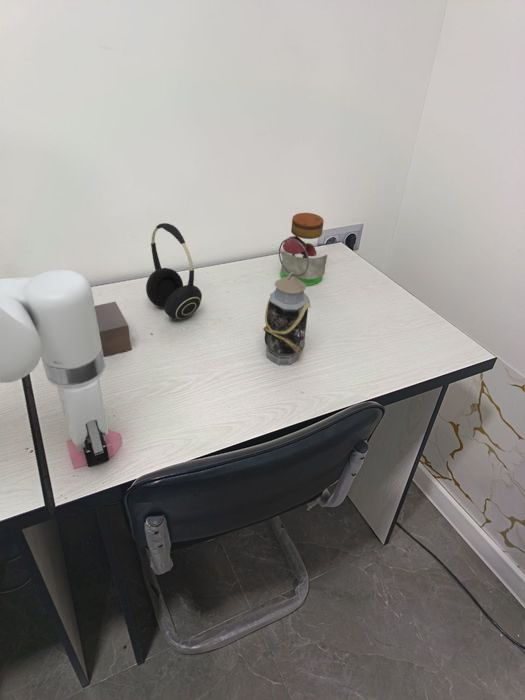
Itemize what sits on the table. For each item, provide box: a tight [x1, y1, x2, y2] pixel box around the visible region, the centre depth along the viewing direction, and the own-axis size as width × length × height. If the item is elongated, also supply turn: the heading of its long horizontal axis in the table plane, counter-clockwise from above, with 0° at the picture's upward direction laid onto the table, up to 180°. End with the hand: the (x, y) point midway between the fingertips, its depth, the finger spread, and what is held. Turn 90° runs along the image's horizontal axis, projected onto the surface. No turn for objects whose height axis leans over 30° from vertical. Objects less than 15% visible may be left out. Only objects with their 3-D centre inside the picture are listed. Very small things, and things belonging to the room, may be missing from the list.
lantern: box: [263, 237, 311, 366], centre depth 91 cm, size 9×8×25 cm
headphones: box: [145, 222, 203, 320], centre depth 102 cm, size 9×15×20 cm, turn 41°
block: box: [94, 301, 132, 358], centre depth 96 cm, size 9×9×6 cm
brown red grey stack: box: [279, 212, 328, 287], centre depth 120 cm, size 12×13×15 cm
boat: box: [65, 429, 123, 470], centre depth 75 cm, size 8×4×5 cm, turn 118°
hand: (94, 451), depth 77 cm, fingers closed on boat, 3 cm apart
